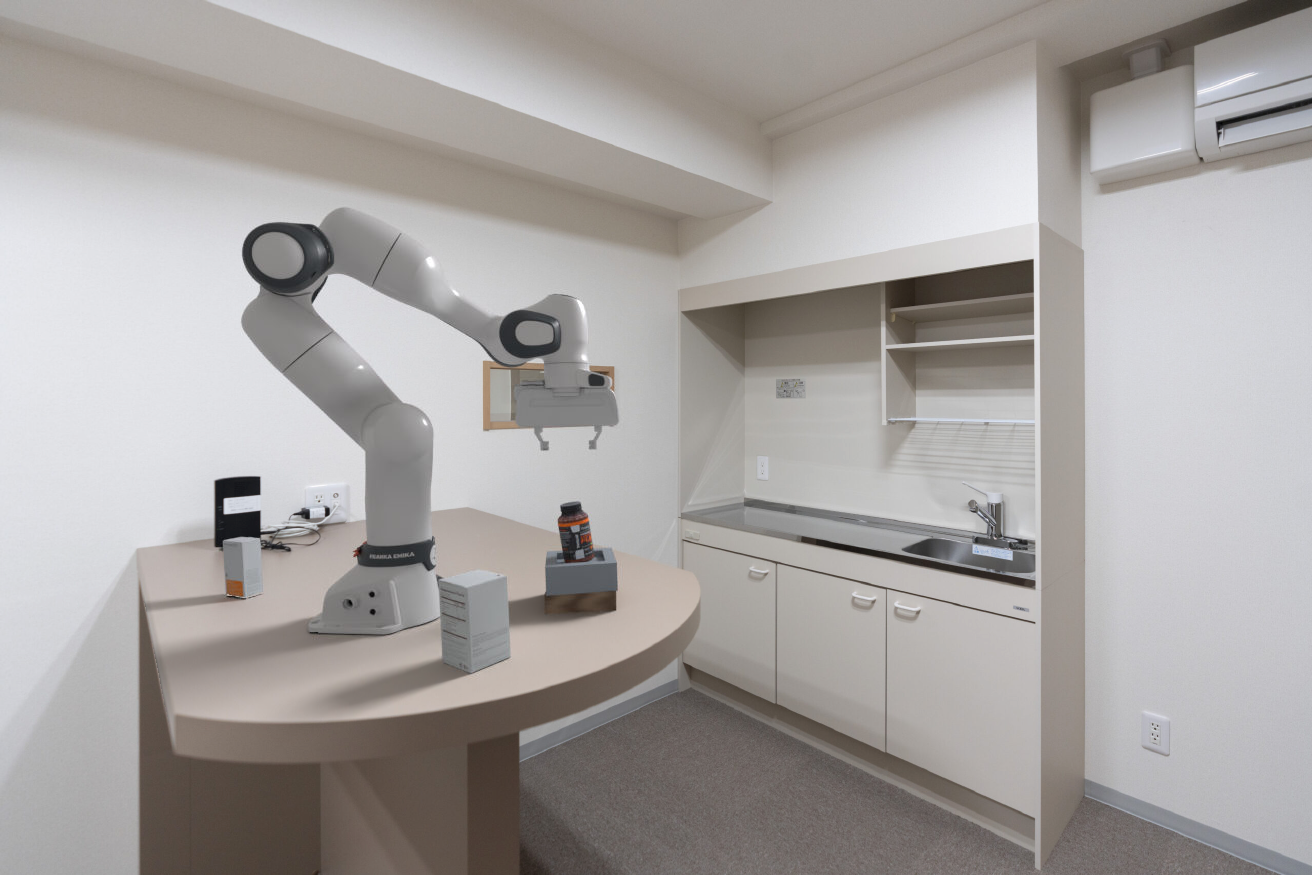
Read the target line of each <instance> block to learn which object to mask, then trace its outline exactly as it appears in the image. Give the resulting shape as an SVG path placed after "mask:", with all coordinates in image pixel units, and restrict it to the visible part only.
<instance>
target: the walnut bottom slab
mask: <svg viewBox="0 0 1312 875" xmlns="http://www.w3.org/2000/svg"><path fill="white" fill-rule="evenodd" d="M543 596H544V598H543V599H544V614H545V615H552V614H553V615H554V614H556V615H557V614H574V613H591V612H592V613H593V612H595V613H596V612H597V613H598V612H613V611H617V591H606V592H592V593H578V594H564V595H550V596H546V591H545V592H544V595H543Z"/></svg>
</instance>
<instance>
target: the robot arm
mask: <svg viewBox="0 0 1312 875" xmlns="http://www.w3.org/2000/svg"><path fill="white" fill-rule="evenodd" d="M241 248H242V249H241V257H242V262H243V264H244V268H245V270H246V272H248V274H249V276H250V277H251V278H252V279H253V280H254V281H255V282H256V283H257V284H258V285H259V292H258V294H257V296H256V298H254V299H253V300H252V301H250V302H249V303H248V304H247V305H246V307H245V308H244V310H243V313H242V315H241V319H240V320H241V321H240V324H241V328H242V330H243V331H244V333H245V334H246V336H247V337H248V339H249V340H250V341H251V342H252V343H253V345H254V346H255V347H256V348H257V349H258V351H259V352H260V353H261V355H263V357H265V359H266V360H267V361H268V362H269V363H270V364H271V365H272V366H273V367H274V368H275V370H277V371H278V372H279V373H280V374H282V376H284V377H285V378H286V380H288V381H289V383H290V384H292V385H293V386H295V388H297V389H298V391H300V392H301V393H302V394H304V395H305V397H306V398H308V399H309V400H310V401H311V402H312V403H313V404H314V405H315V406H316V407H318V409H320V411H322V412H323V413H324V414H325V415H326V416H327V417H328V418H329V419H330V420H331V421H332V422H333V423H334V424H336V425H337V426H338V428H340V429H341V430H342V431H343V432H344V433H345V434H346V435H347V436H348V437H349V438H351V440H353V441H354V442H355V443H356V444H357V445H358V446H359V447H360V448H361V449H362V450H363V451H364V454H365V455H364V456H365V457H364V458H365V460H364V462H365V464H364V466H365V474H364V475H365V480H364V481H365V486H364V487H365V488H364V491H365V492H364V508H365V509H364V510H365V511H364V512H365V513H364V514H365V526H366V527H365V528H366V529H365V530H366V532H365V534H366V540H365V541H363V543H362V544H361V545H359V546H358V547H357V548H356V549H355V550H353V551H352V553H354V554H353V555H352V558H356V561H357V564H356V565H354V566H353V567H352V568H351V569H349V570H348V572H346V573H345V574H344V575H343V576H341V577H340V578H339V579H338V580H337V581H336V582H334V583H333V584H331V586H330V587H329V588H328V589H327V591H326V592H325V594H324V598H323V603H322V610H321V611H322V612H320V613H319V614H316V616H314V617H313V618H311V620H310V621H309V623H308V626H307V627H308V629H307V630H309V631H308V632H309V633H310V632H318V633H317V634H343V635H344V634H351V635H353V634H356V635H389V634H392V633H393V634H394V633H395V632H399V631H402V630H404V629H407V628H412V627H416V626H420V625H422V624H426V623H429V622H432V621H434V620H436V619H438V618H440V601H439V583H438V580H437V573H436V566H437V545H436V538H435V536H434V535H433V526H432V525H433V523H432V522H433V521H432V520H433V519H432V500H431V499H432V498H431V497H432V495H431V493H432V482H433V481H432V478H433V465H434V464H433V462H434V438H435V437H434V436H435V434H434V426H433V424H432V422H431V419H430V418H429V416H428V415H427V414H426V413H425V412H424V411H423V410H422V409H421V408H419V407H418V406H415V405H413V404H409V403H406V402H405V403H404V402H403V401H402V400H401V399H400V398H399V397H398V396H397V395H396V394H395V392H394V391H393V390H392V389H391V388H390V387H389V386H388V385H387V384H386V382H384V380H383V379H382V378H381V377H380V376H379V374H378V373H377V372H376V371H375V370H374V369H373V367H372V366H371V364H369V363H368V362H367V361H366V360H365V359H364V358H363V357H362V356H361V355H360V354H359V353H358V352H357V351H356V350H355V349H354V348H353V347H352V346H351V345H350V344H349V343H348V342H347V341H346V340H345V339H344V338H343V337H342V336H341V335H340V334H339V333H338V332H337V331H335V330H334V328H333V327H332V326H330V325H329V324H328V323H327V322H326V320H324V319H323V318H322V317H321V316H320V315H319V313H318V312H317V311H316V309H315V308H314V306H313V303H314V302H315V300H316V299H317V297H318V296H319V293H320V292H321V291H322V289H323V288H324V286H325V285H326V282H327V280H328V278H329V276H331V275H334V274H335V275H337V274H338V275H344V276H347V277H350V278H352V279H355V280H357V281H358V282H360V283H362V284H364V285H365V286H367V287H369V288H371V289H373V290H375V292H379V293H380V294H382V295H384V296H386V297H388V298H390V299H393V300H394V301H395V300H396V301H398V302H399V303H402V304H405V305H407V306H410V307H411V308H415V309H417V310H420V311H421V312H424V313H427V314H428V315H432V316H433V317H435V318H437V319H438V320H440V321H442V322H444V323H446V324H448V325H449V326H450V327H452V328H454V329H455V330H457V331H459V332H461V333H462V334H465V336H468V337H469V338H471V339H472V340H474V341H475V342H477V343H478V344H479V345H480V346H481V348H483V350H484V351H485V352H486V354H487V355H488V356H489V357H490V358H491V360H492V361H493V362H495V363H496V364H498V365H499V366H502V367H505V368H510V369H511V368H518V367H521V366H523V365H526V364H527V363H528V362H530V361H532V360H535V359H540V360H542V361H543V376H544V379H535V380H534V379H533V380H528V379H527V380H526V379H524V380H521V381H520V382H518V383H517V384H516V385H515V386H514V388H513V399H514V400H515V402H516V406H515V419H514V420H515V424H516V426H518V428H534V429H533V430H534V431H533V433H534V435H535V436H536V438H537V440H538V441H539V444H540V445H539V446H540V451H550V446H549V445H550V441H549V440H545V439H544V437H543V436H542V433H543V432H544V430H543V429H544V428H552V427H555V428H556V427H557V428H558V427H560V428H561V427H594V432H595V436H594V437H593V440H591V439H590V440H588V445H589V446H588V449H589V450H597V449H598V447H597V446H598V443H597V441H598V440H599V438H600V436H601V434H602V433H603V427H606V426H607V427H609V426H610V427H611V426H617V425H618V424H619V422H620V411H619V410H620V409H619V404H618V399H617V395H616V393H615V392H614V391H613V390H612V389H611V388H612V386H613V379H612V377H610V376H608V375H605V374H601V373H599V371H591V369H590V360H589V356H588V347H589V342H590V341H589V340H590V339H589V337H590V336H589V322H588V315H587V311H586V307H585V305H584V303H583V302H582V301H581V300H580V299H578V298H576V297H574V296H571V295H568V294H560V293H553V294H548V295H547V296H545V297H544V298H543V299H541V300H540V301H538V302H536V303H534V304H533V305H530V306H527V307H524V308H520V309H516V310H512V311H510V312H508V313H507V314H505V315H497V314H494V313H493V312H490V311H489V310H487V309H485V308H484V307H482V306H480V305H479V304H477V303H476V302H474V301H473V300H471V299H470V298H468V297H466V296H465V295H464V294H461V293H460V292H459V291H457V289H455V288H454V286H453V285H452V284H451V283H450V282H449V280H448V278H447V276H446V274H445V272H444V270H443V268H442V265H441V263H440V261H439V259H438V258H437V256H436V255H435V254H434V253H433V252H432V251H431V250H429V249H428V248H427V247H425V246H424V245H423V244H421V243H420V242H419V241H418V240H416V239H415V238H413V237H412V236H410V235H408V234H407V233H404V232H403V231H401V230H399V229H397V228H396V227H394V226H392V225H391V224H388V223H386V222H384V221H382V220H381V219H378V218H376V217H374V216H373V215H369V214H367V213H364V212H363V211H359V210H357V209H354V208H351V207H345V206H344V207H343V206H342V207H339V208H335V209H333V210H332V211H331V212H329V213H328V214H327V215H326V216H325V217H324V218H323V219H322V221H321V223H320V224H319V226H317V225H315V224H312V223H298V222H296V223H295V222H288V221H287V222H284V221H275V222H267V223H263V224H261V225H258V226H256V227H254V228H253V229H252V230H251V231H249V233H248V234H247V235H246V237H245V238H244V241H243V244H242V247H241Z"/></svg>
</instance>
